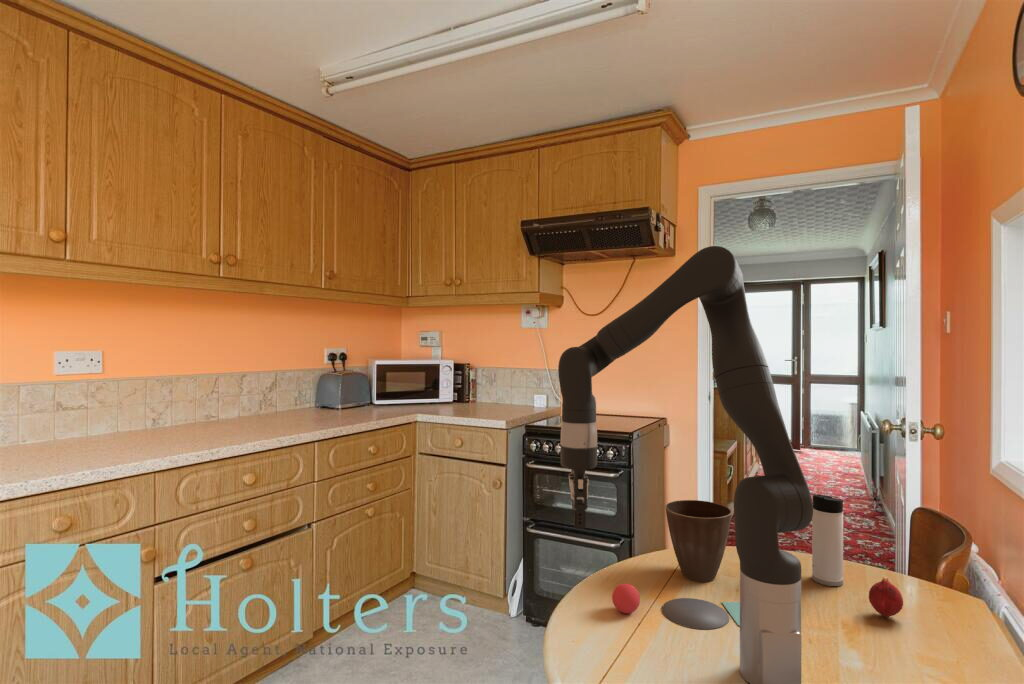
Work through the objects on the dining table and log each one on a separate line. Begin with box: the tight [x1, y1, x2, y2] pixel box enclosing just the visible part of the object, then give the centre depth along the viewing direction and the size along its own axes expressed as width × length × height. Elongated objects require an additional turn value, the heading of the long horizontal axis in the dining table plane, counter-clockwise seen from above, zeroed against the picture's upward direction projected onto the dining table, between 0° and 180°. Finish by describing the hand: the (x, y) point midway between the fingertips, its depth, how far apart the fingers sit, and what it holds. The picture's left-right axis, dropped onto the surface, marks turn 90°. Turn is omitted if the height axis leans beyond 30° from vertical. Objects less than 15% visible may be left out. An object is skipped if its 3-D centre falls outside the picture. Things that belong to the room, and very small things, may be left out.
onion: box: [868, 576, 904, 618], centre depth 115 cm, size 6×6×8 cm
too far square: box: [721, 601, 740, 627], centre depth 116 cm, size 10×10×1 cm
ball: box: [611, 583, 641, 614], centre depth 117 cm, size 6×6×6 cm
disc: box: [661, 597, 730, 630], centre depth 116 cm, size 13×13×1 cm
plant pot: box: [664, 499, 733, 583], centre depth 135 cm, size 15×15×16 cm
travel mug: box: [811, 493, 844, 587], centre depth 132 cm, size 6×7×20 cm
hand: (578, 521), depth 118 cm, fingers open, 8 cm apart
